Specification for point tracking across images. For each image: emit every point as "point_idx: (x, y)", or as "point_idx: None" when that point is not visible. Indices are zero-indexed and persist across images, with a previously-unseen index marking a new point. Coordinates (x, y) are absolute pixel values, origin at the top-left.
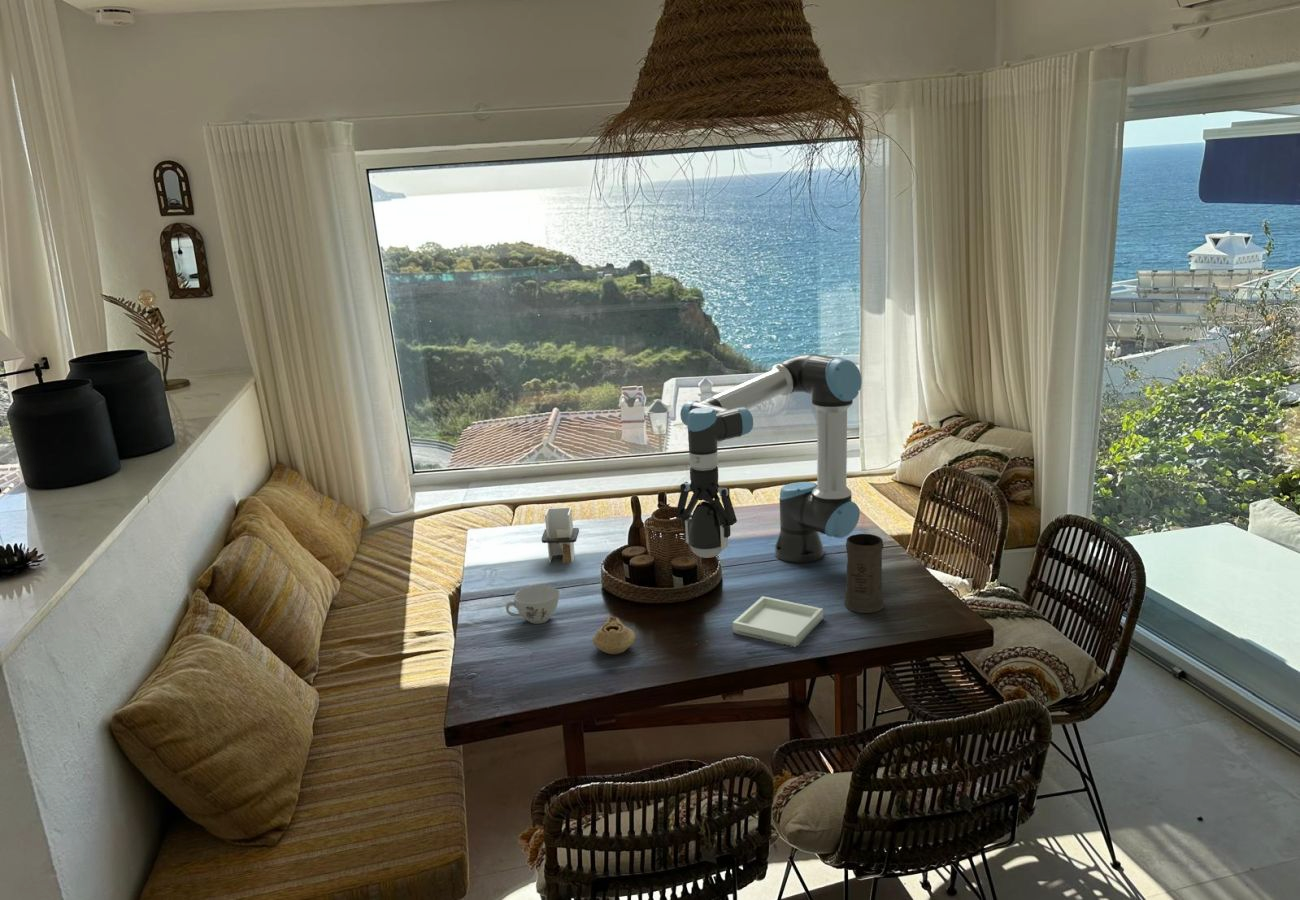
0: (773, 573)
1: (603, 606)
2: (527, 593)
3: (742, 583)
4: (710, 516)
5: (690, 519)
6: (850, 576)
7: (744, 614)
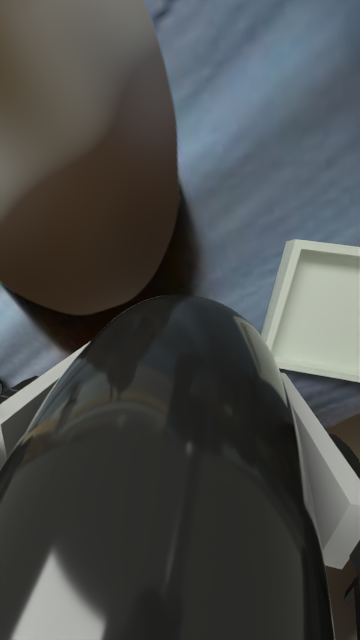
0: (279, 24)
1: (34, 328)
2: None
3: (215, 137)
4: None
5: (8, 444)
6: None
7: (274, 332)
